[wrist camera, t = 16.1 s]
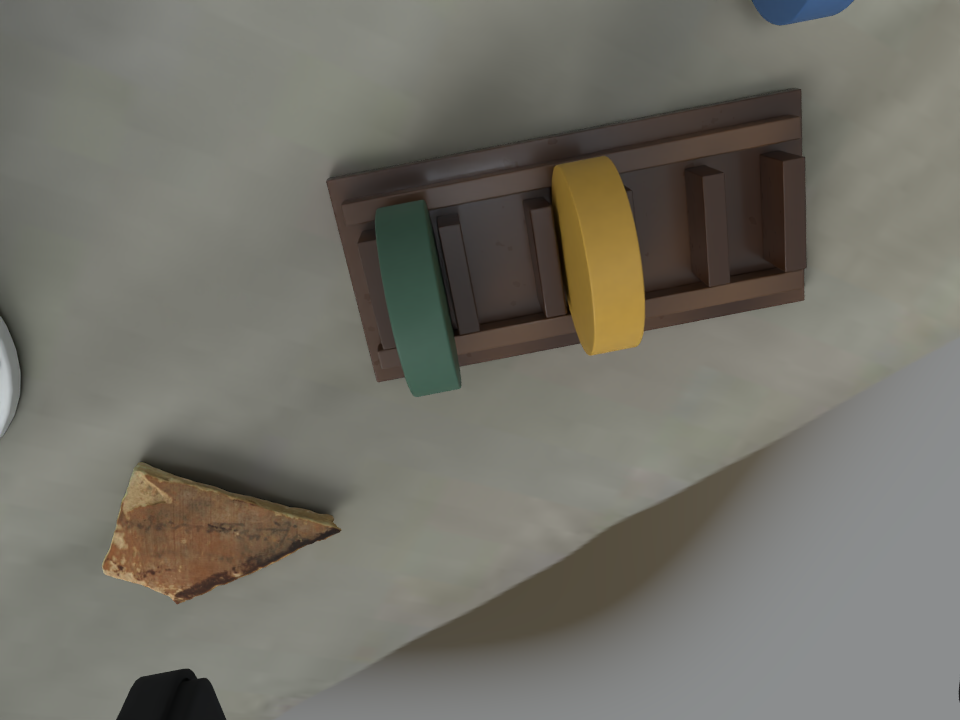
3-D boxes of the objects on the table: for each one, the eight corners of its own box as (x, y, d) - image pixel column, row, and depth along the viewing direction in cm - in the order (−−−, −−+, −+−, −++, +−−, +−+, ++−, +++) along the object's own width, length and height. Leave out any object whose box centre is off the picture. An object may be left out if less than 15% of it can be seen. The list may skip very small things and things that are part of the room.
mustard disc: (569, 329, 37) (604, 381, 29) (543, 161, 34) (573, 169, 27) (609, 321, 37) (655, 371, 29) (586, 152, 34) (629, 158, 27)
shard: (344, 514, 41) (341, 533, 39) (300, 620, 43) (295, 643, 42) (142, 451, 39) (129, 469, 37) (107, 567, 41) (93, 588, 39)
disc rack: (377, 376, 38) (374, 403, 35) (328, 178, 34) (318, 189, 31) (797, 295, 38) (829, 316, 35) (793, 87, 34) (828, 90, 31)
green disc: (417, 355, 37) (415, 430, 30) (380, 193, 34) (368, 231, 26) (457, 347, 37) (465, 420, 30) (424, 184, 34) (424, 220, 26)
